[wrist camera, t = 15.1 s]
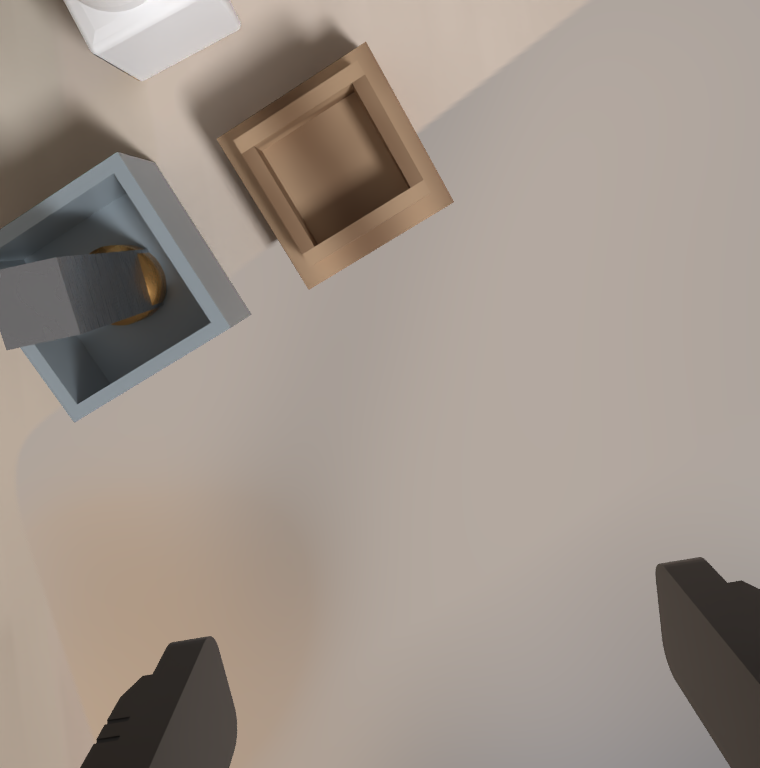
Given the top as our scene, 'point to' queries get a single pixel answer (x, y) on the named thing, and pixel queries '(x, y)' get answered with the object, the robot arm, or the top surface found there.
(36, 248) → the bin
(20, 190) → the top surface
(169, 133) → the top surface
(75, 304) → the strut
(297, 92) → the socket block
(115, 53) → the medicine bottle
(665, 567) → the robot arm
